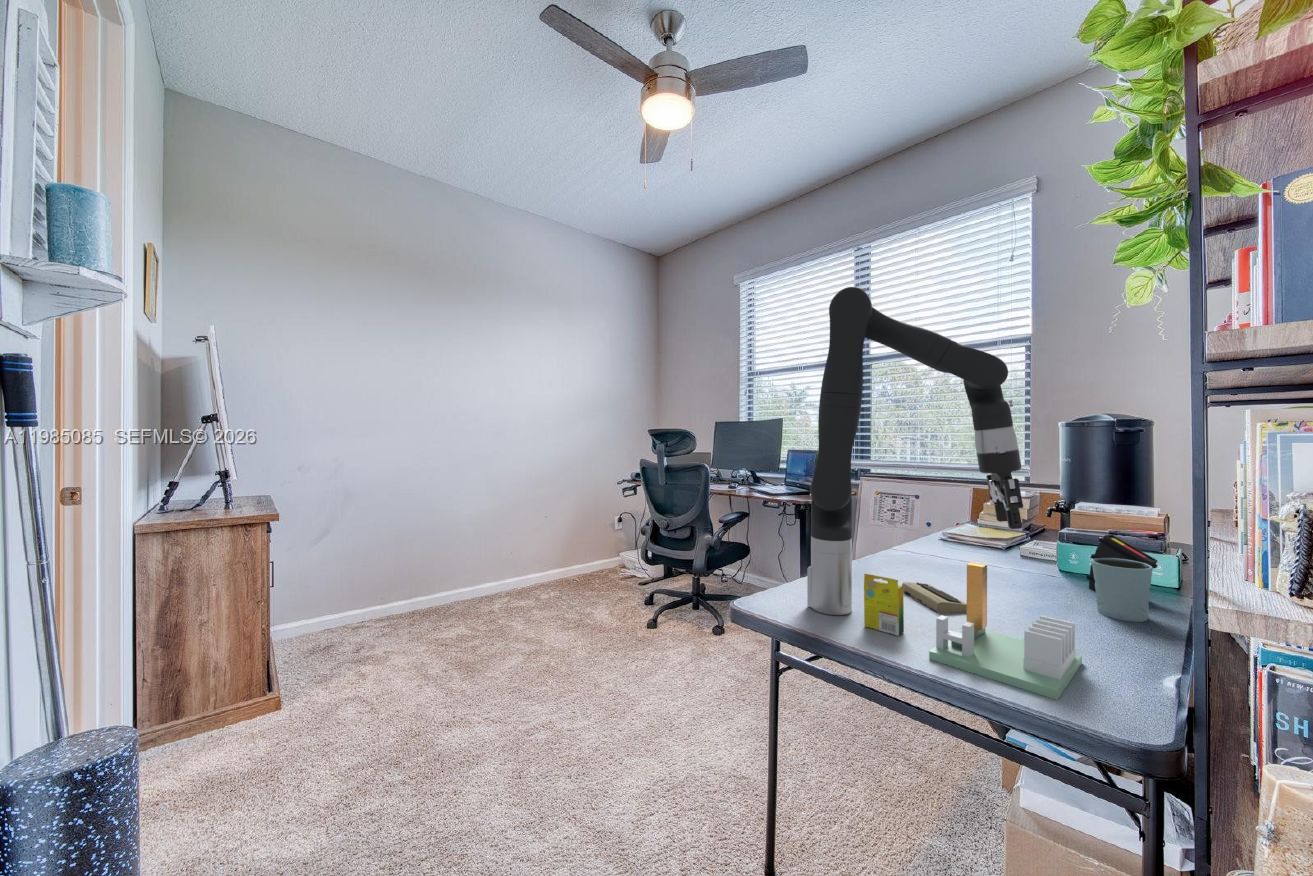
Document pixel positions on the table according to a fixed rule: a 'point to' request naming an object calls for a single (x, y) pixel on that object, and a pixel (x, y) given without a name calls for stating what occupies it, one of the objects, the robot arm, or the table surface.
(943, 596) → the computer
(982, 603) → the wooden block
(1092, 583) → the black striped box
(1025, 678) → the heatsink board
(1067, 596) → the table surface
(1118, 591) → the grey green bin
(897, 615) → the crayon box
